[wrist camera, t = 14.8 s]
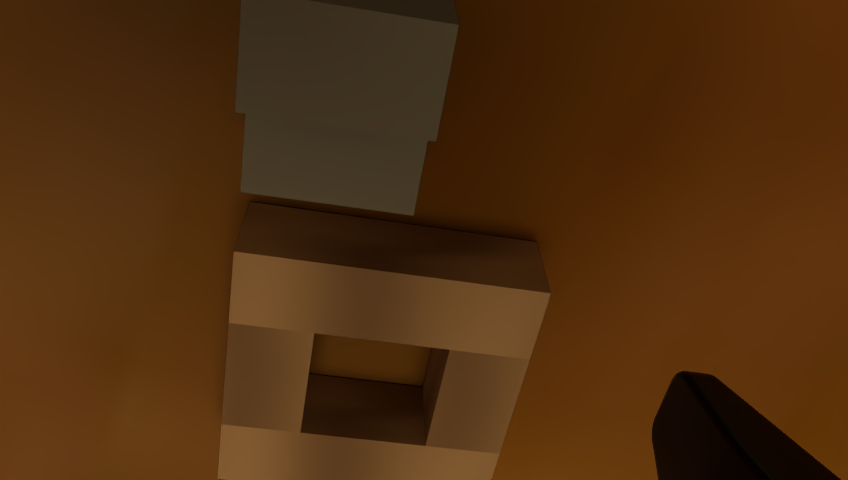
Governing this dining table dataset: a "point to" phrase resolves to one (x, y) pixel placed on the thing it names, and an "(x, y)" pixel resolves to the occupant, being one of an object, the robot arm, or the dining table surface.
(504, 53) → the dining table surface
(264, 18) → the chock
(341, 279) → the socket block
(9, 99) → the dining table surface
